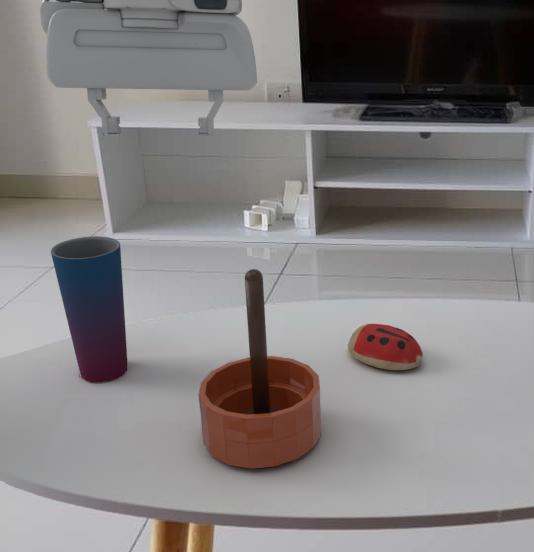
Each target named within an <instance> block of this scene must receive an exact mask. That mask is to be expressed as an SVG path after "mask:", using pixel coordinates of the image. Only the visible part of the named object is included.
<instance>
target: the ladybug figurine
mask: <svg viewBox="0 0 534 552" xmlns="http://www.w3.org/2000/svg"><path fill="white" fill-rule="evenodd" d="M347 350H348V353H349V354H350V355H351V356H352V357H353V358H354V359H356V360H357V361H359V362H360V363H363V364H366V365H368V366H370V367H374V368H378V369H381V370H387V371H406V370H411V369H414V368H417V367H418V366H419V365H421V364H422V362H423V360H424V353H423V351H422V347H421V346H420V344H419V342H418V341H417V340H416V338H414V336H413V335H411V334H410V333H408V332H407V331H405V330H404V329H402V328H398V327H395V326H393V325H388V324H382V323H365V324H362V325H360V326H359V327H358V328H356V329H355V330H354V331H353V333H352V334H351V336H350V337H349V340H348V343H347Z"/></svg>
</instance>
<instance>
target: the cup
mask: <svg viewBox="0 0 534 552" xmlns="http://www.w3.org/2000/svg"><path fill="white" fill-rule="evenodd" d="M50 255H51V258H52V263H53V267H54V271H55V275H56V279H57V283H58V287H59V292H60V295H61V301H62V304H63V309H64V313H65V316H66V321H67V325H68V329H69V334H70V338H71V342H72V346H73V349H74V354H75V358H76V363H77V367H78V370H79V374H80V378H81V379H82V380H83V381H85V382H87V383H91V384H102V383H107V382H112V381H115V380H117V379H119V378H122V377H123V376H124V375H125V374H126V373H127V372H128V370H129V364H128V363H129V362H128V349H127V332H126V315H125V313H126V312H125V300H124V284H123V268H122V265H123V264H122V251H121V243H120V241H119V240H117V239H115V238H113V237H109V236H98V235H95V236H92V235H91V236H82V237H76V238H71V239H67V240H64V241H61V242H59V243H57V244H55V245H53V247H52V248H51V249H50Z"/></svg>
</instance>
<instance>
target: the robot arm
mask: <svg viewBox="0 0 534 552" xmlns="http://www.w3.org/2000/svg"><path fill="white" fill-rule="evenodd" d="M242 9H243V0H55V1H50V0H42V1H41V3H40V6H39V12H40V13H39V14H40V21H41V23H40V24H41V26H42V30H43V32H44V33H45V35H46V46H45V47H46V48H45V50H46V51H45V66H46V76H47V77H46V78H47V79H48V80H49V81H50V82H51V84H52V85H53V86H54V87H55V88H59V89H86V94H87V101H88V103H89V104H90V105H91V107H92V108H93V109H94V111H95V112H96V114H97V116H98V117H99V118H101V130H102V134H103V136H120V135H121V134H122V133H121V132H122V131H121V130H122V129H121V126H120V124H121V119H120V116H115V115H114V116H113V115H111V113H110V112H109V110H108V109H107V106H106V105H105V104H104V103H103V100H106V99H107V89H110V90H111V89H112V90H113V89H114V90H115V89H116V90H119V89H120V90H172V91H173V90H177V91H179V90H181V91H183V90H184V91H185V90H186V91H207V94H208V95H207V96H208V102H210V103H211V102H212V103H213V104H212V106H211V108H210V110H209V111H208V113H207V116H202V117H201V116H199V117H198V118H197V122H198V123H197V125H198V127H199V128H198V136H203V137H204V136H205V137H206V136H207V137H208V136H211V137H212V136H213V137H214V136H215V118H216V116H217V114H218V113H219V110H220V108H221V106H222V104H223V103H224V91H248V92H249V91H251V90H253V88H255V86H256V85H257V83H258V74H257V65H256V64H257V63H256V56H255V55H256V54H255V50H254V45H253V39H252V35H251V32H250V29H249V28H248V26H247V24H246V23H245V21H244V20H243V19H241V18H240V17H239V16H238V15H240V14H241V12H242Z"/></svg>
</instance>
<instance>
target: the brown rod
mask: <svg viewBox="0 0 534 552" xmlns="http://www.w3.org/2000/svg"><path fill="white" fill-rule="evenodd" d="M244 289H245V304H246V320H247V334H248V335H247V337H248V348H249V349H248V350H249V357H250V367H251V383H252V398H253V409H251V410H248V411H246V412H245V413H244V414H246V415H250V414H265V413H273V412H276V411H280V410H279V409H276V408H273V407H270V397H269V379H268V361H267V356H268V345H267V328H266V327H267V326H266V325H267V324H266V308H265V293H264V292H265V291H264V276H263V274H262V272H261V271H260V270H259V269H256V268H252V269H248V270H247V272H245V275H244Z"/></svg>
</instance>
